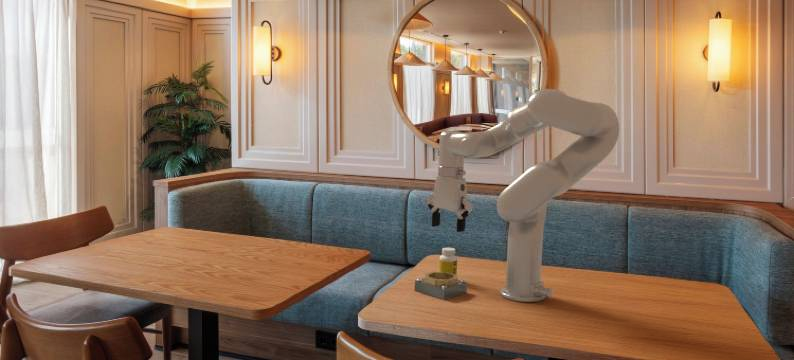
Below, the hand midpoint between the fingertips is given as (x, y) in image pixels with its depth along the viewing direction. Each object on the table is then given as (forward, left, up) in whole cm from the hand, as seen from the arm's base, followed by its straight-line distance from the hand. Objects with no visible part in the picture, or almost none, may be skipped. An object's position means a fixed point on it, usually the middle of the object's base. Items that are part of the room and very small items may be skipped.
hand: (447, 228), depth 180 cm
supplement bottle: (0, 0, -16) cm, 16 cm away
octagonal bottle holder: (-6, +10, -16) cm, 20 cm away
